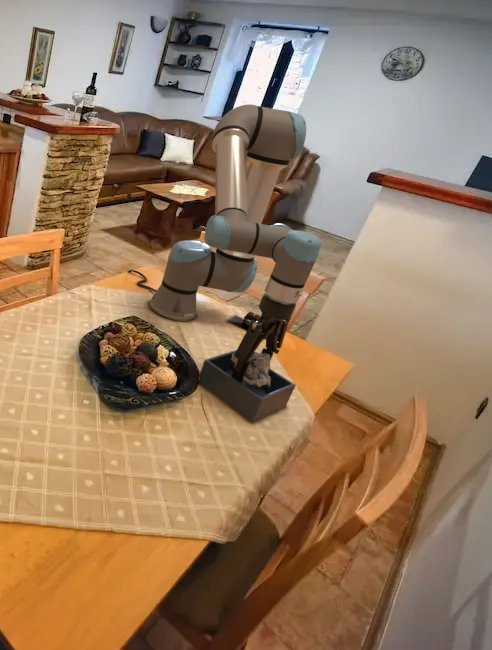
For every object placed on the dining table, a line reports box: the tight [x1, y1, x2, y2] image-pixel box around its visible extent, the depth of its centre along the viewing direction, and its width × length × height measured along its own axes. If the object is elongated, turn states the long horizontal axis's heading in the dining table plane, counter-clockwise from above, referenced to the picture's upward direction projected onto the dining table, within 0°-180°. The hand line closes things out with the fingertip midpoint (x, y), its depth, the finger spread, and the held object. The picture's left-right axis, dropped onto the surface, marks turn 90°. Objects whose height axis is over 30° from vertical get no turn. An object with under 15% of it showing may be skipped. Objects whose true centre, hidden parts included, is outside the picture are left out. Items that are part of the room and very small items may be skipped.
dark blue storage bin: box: [198, 348, 296, 423], centre depth 128 cm, size 18×15×7 cm
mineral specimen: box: [231, 351, 272, 388], centre depth 126 cm, size 10×8×10 cm
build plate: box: [227, 311, 264, 335], centre depth 164 cm, size 12×7×5 cm, turn 51°
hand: (247, 376), depth 127 cm, fingers closed on mineral specimen, 9 cm apart
